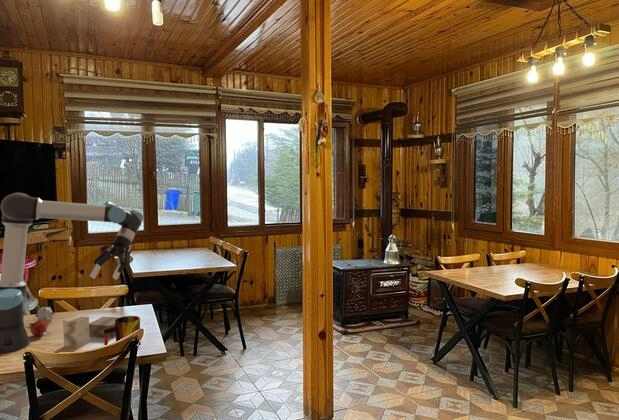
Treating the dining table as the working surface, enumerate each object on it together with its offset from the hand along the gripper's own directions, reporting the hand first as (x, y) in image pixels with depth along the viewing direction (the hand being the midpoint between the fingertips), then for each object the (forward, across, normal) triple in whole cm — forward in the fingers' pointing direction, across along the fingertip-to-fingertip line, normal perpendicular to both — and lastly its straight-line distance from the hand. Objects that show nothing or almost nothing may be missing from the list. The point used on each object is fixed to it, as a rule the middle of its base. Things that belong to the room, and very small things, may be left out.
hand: (103, 278), depth 210 cm
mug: (+28, -23, -8) cm, 37 cm away
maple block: (+29, +1, -5) cm, 30 cm away
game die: (+17, +41, -16) cm, 48 cm away
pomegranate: (+27, +26, -6) cm, 38 cm away
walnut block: (+19, 0, -17) cm, 26 cm away
